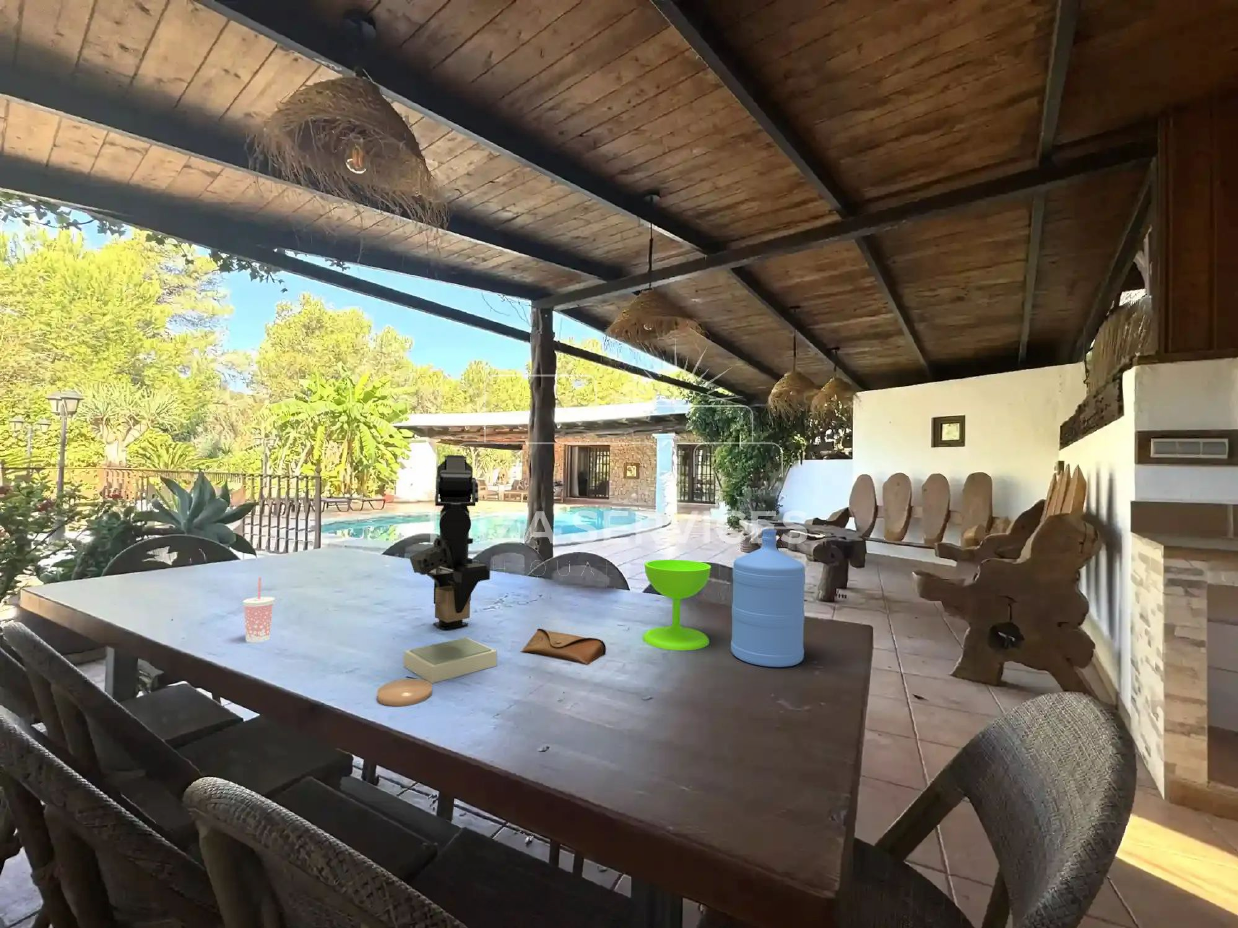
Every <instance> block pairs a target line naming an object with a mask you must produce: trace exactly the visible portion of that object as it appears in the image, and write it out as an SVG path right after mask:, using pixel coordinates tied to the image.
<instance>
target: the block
mask: <svg viewBox="0 0 1238 928" xmlns="http://www.w3.org/2000/svg"><path fill="white" fill-rule="evenodd" d="M470 612H471V601H470V597H469V599H468V601H467V603H466V605H465V607H464V609H463V611H462V612H461V613H456V608H455V598H454V588H453V586H452V585H451V586H444V587H437V588H436V592H435V604H434V618H436V619H438V620H439V619H440V620H442V621H444V622H452V621H457V620H467V619H470V618H471V617H470V615H471V613H470Z"/></svg>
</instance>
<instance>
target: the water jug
mask: <svg viewBox="0 0 1238 928" xmlns="http://www.w3.org/2000/svg"><path fill="white" fill-rule="evenodd" d="M761 532H762V536H761V546H760V548H758V549H756V550H753V551H751V552H749V553H746V554H744V555H742V556H740V557H736V558H735V560H733V566H732V582H733V583H732V584H733V585H732V588H733V589H732V605H731V616H732V618H731V619H732V620H731V621H732V623H731V624H732V625H731V627H732V628H731V641H730V650H731V652H732V654H733V656H735V657H736V658H738V659H739V660H741V661H743V662H745V663H748V664H751V665H756V666H762V667H770V668H786V667H792V666H795V665H798V664H800V663H801V662H802V661H803V660H804V657H805V656H804V655H805V649H804V623H805V615H806V613H805V585H806V572H805V571H806V567H805V564H804V563H803V562H801V561H799V560H798V559H795V558H794V557H792V556H790V555H788V554H786V553H785V552H783V551H781V550H779V549H778V548H777V532H778V530H776V529H762V530H761Z"/></svg>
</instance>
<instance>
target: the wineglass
mask: <svg viewBox="0 0 1238 928" xmlns="http://www.w3.org/2000/svg"><path fill="white" fill-rule="evenodd" d="M711 568H712V566H711V565H710V564H708V563H706V562H705V563H704V562H700V561H695V560H684V559H655V560H650V561H646V562H645V563H644V570H645V574H646V575H645V576H646V578H647V581H648V582H649V584H651V587H653V589H655V591H656V592H658V593H659V594H660V595H662V596H664V597H667V598H669V599H672V615H671V616H672V618H671V619H672V621H671V622H672V623H671V625H670V626H659V627H655V628H652V629H651V628H650V629H649V630H647V631H645V633H644V634H643V636H642V640H643V642H645V643H646V644H648V645H649V646H652V647H655V648H658V649H663V650H668V651H669V650H671V651H693V650H694V651H695V650H698V649H703V648H704V647H707V646H708V645H710V640H709V637H708V636H707V635H706V634H705V633H703V632H702V631H699V630H696V629H694V628H689V627H683V626H682V625H681V607H682V606H681V602H682V601H681V600H683V599H686V598H690V597H693V596H695V595H696V594H698V593H699V592H700V591H701V590H702V589H703V588H704V587H705V586H706V585H707V582H708V580H709V577H710V575H711Z"/></svg>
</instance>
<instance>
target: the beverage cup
mask: <svg viewBox="0 0 1238 928" xmlns="http://www.w3.org/2000/svg"><path fill="white" fill-rule="evenodd" d="M261 586H262V577H258V586H257V587H258V588H257V589H258V591H257V597H251V598H247V599H244V600H243V601H242V606H243V607H244V628H245V629H244V630H245V642H247V643H259V642H260V643H261V642H265V641H268V640H270V638H271V628H272V618H273V608H274V603H275V601H276V600H275V599H276V598H275V597H273V596H261V593H262V590H261V589H262V587H261Z"/></svg>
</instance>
